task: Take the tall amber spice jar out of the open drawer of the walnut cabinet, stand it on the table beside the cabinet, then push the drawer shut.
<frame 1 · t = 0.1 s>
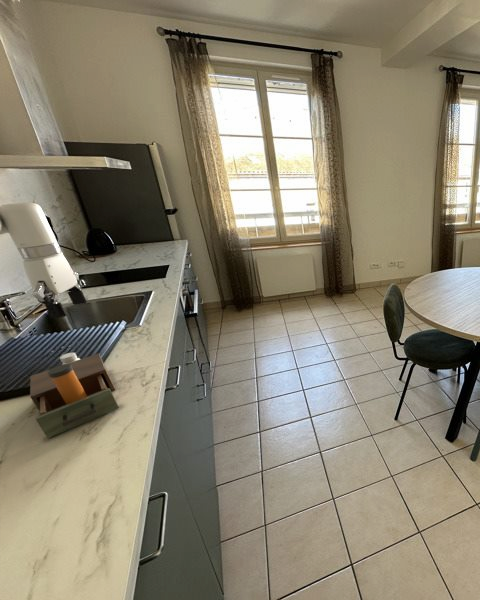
hand: (70, 310, 93), 22 cm above the worktop, tool pointing down, fingers open, 9 cm apart
spice jar: (80, 407, 85), point 2 cm above the worktop, touching drawer
drawer: (78, 405, 83), point 4 cm above the worktop, slide at 10.0 cm, touching spice jar
pill bottle: (79, 377, 102), on the worktop
cabinet: (80, 394, 93), on the worktop
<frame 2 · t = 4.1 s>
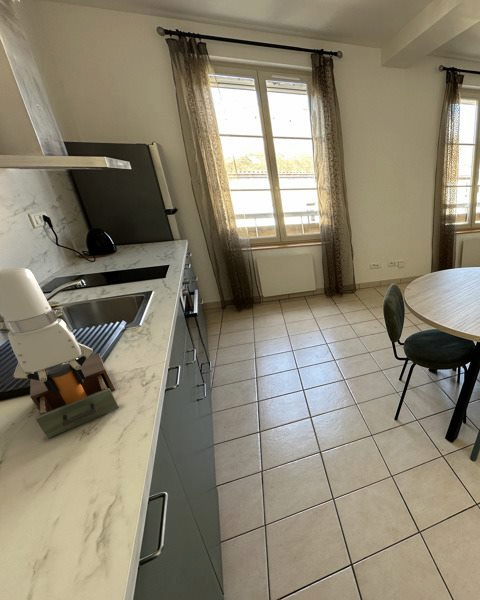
hand: (68, 385, 82), 9 cm above the worktop, tool pointing down, fingers closed on spice jar, 4 cm apart
spice jar: (80, 407, 85), point 2 cm above the worktop, touching drawer, gripper
everything else where it was.
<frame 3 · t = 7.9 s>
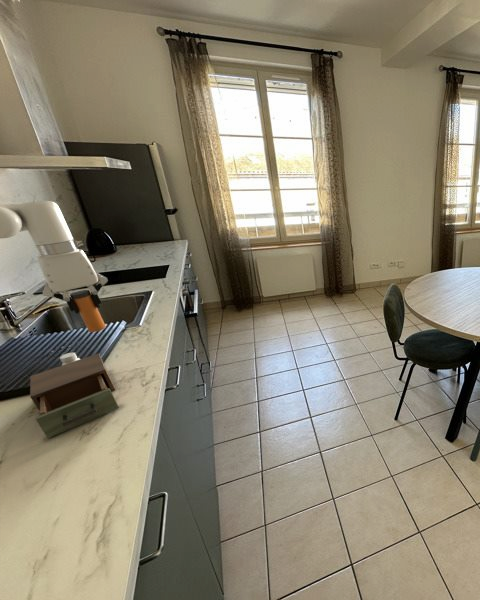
hand: (87, 308, 96), 21 cm above the worktop, tool pointing down, fingers closed on spice jar, 4 cm apart
spice jar: (97, 329, 99), point 14 cm above the worktop, touching gripper
drawer: (78, 405, 83), point 4 cm above the worktop, slide at 10.0 cm
everything else where it was.
when the fingers open (7 cm above the worktop, at t = 11.5 s): spice jar stays where it is, on the worktop.
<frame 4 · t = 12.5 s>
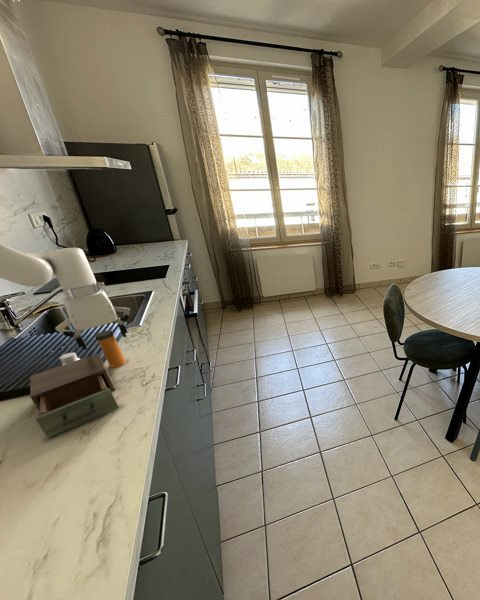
hand: (105, 341, 102), 9 cm above the worktop, tool pointing down, fingers open, 9 cm apart
spice jar: (118, 365, 106), on the worktop
everything else where it was.
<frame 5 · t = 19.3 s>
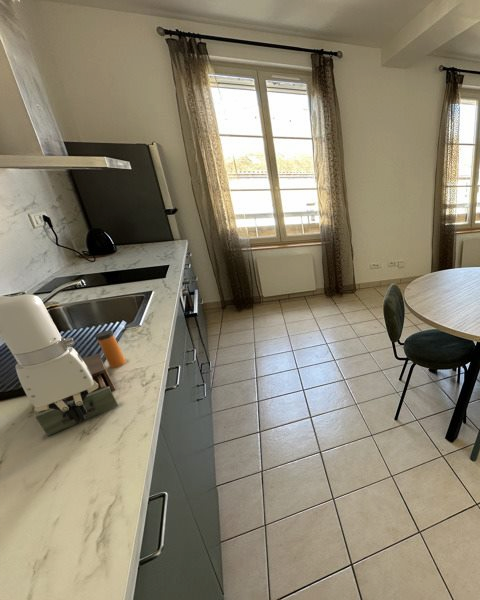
hand: (80, 418, 77), 5 cm above the worktop, tool pointing down, fingers closed
drawer: (78, 403, 83), point 4 cm above the worktop, slide at 8.8 cm, touching gripper
everything else where it was.
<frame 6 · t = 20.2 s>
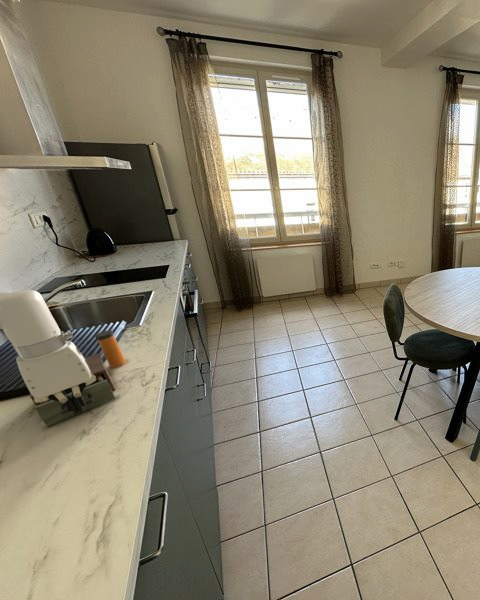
hand: (79, 410, 80), 5 cm above the worktop, tool pointing down, fingers closed
drawer: (76, 396, 86), point 4 cm above the worktop, slide at 4.3 cm, touching gripper
everything else where it was.
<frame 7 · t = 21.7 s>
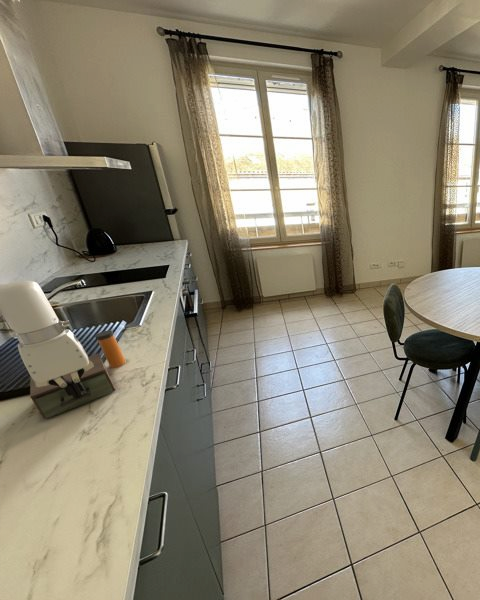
hand: (78, 395, 84), 5 cm above the worktop, tool pointing down, fingers closed
drawer: (75, 389, 89), point 4 cm above the worktop, slide at 0.0 cm, touching cabinet, gripper
everything else where it was.
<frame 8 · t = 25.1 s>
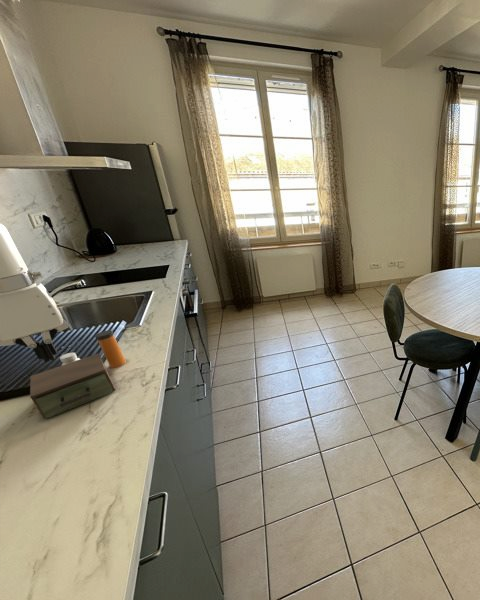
hand: (50, 358, 74), 19 cm above the worktop, tool pointing down, fingers closed
drawer: (75, 389, 89), point 4 cm above the worktop, slide at 0.0 cm, touching cabinet
everything else where it was.
at the end: spice jar inside the target area (0.1 cm from its centre), on the worktop; spice jar tilted 0°; drawer slide at 0.0 cm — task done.
